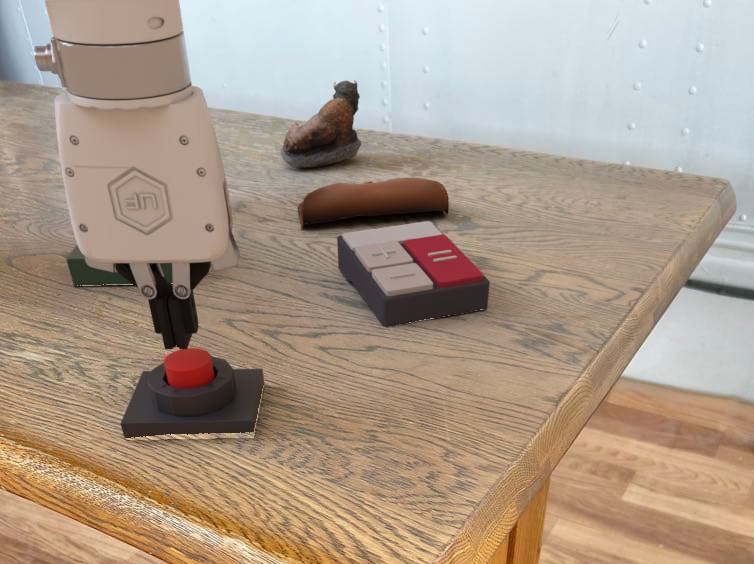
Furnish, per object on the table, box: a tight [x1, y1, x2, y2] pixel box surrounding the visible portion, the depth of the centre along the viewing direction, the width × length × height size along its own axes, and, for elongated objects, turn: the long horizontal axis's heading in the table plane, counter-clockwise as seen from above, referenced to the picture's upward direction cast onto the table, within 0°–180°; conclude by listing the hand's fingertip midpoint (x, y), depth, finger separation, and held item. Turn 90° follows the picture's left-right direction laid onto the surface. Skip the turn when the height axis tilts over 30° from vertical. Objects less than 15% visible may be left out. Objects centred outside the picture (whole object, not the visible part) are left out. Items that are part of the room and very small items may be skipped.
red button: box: [163, 347, 215, 389], centre depth 63 cm, size 4×4×2 cm
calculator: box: [336, 220, 490, 328], centre depth 82 cm, size 11×4×15 cm
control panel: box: [66, 244, 173, 287], centre depth 87 cm, size 12×10×3 cm
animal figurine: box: [279, 79, 362, 168], centre depth 112 cm, size 12×7×10 cm, turn 117°
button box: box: [120, 355, 265, 439], centre depth 64 cm, size 10×8×4 cm
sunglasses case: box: [297, 177, 450, 229], centre depth 98 cm, size 18×7×7 cm
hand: (179, 340), depth 61 cm, fingers closed
